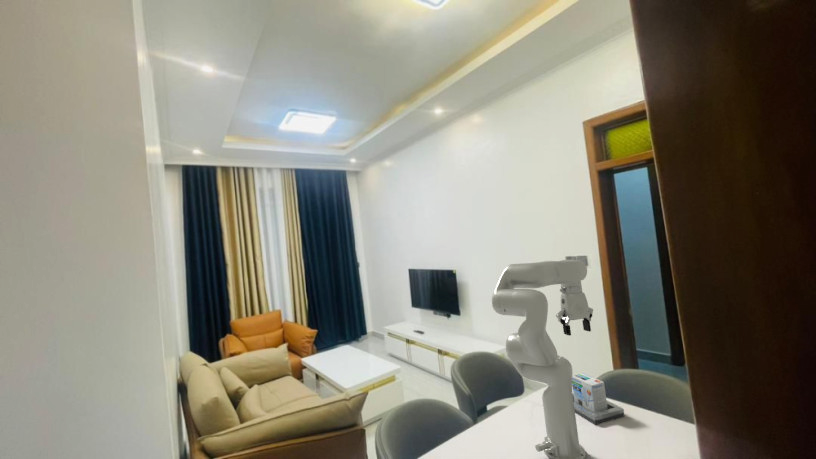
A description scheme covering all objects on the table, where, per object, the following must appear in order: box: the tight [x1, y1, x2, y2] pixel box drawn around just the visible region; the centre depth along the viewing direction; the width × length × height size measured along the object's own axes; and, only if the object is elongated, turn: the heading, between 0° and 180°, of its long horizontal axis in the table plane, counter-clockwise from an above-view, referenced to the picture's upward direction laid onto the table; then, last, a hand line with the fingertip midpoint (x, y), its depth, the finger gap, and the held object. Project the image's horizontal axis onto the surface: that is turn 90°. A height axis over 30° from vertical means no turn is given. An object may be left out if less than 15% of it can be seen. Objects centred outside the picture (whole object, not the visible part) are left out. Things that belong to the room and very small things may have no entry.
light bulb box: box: [572, 373, 608, 413], centre depth 128 cm, size 11×7×11 cm, turn 16°
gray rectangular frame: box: [572, 393, 625, 426], centre depth 128 cm, size 14×18×3 cm
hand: (577, 332), depth 126 cm, fingers open, 9 cm apart
